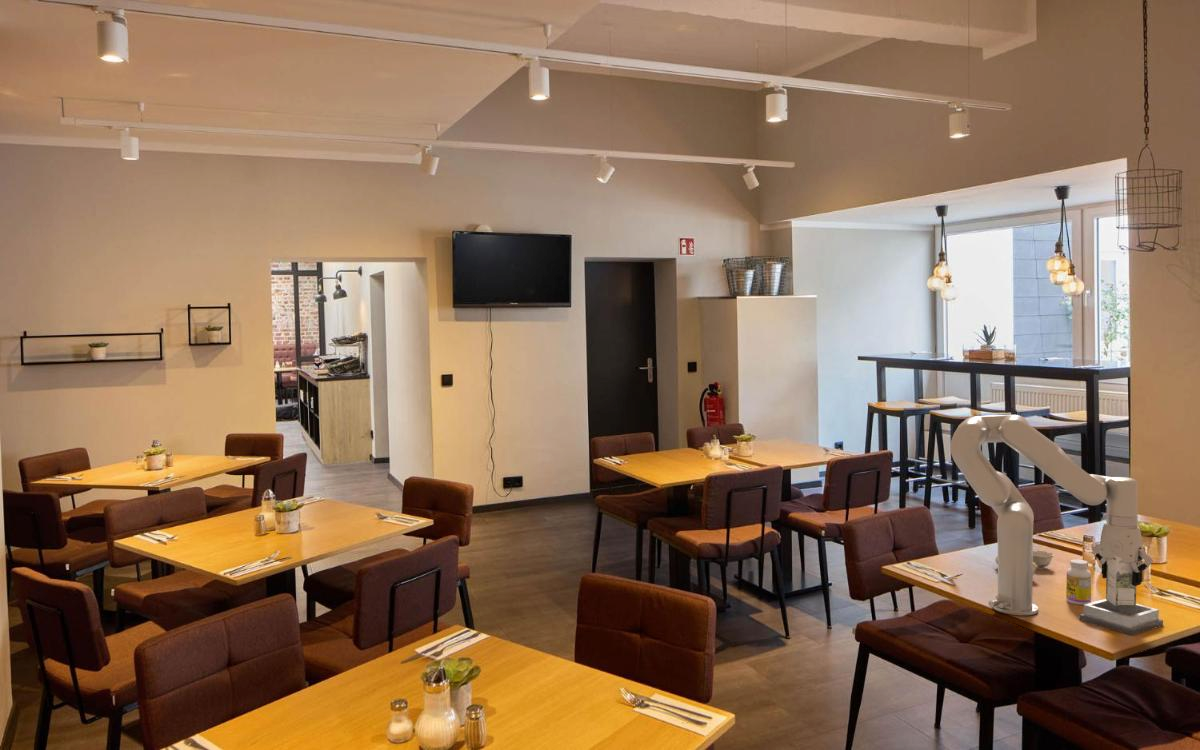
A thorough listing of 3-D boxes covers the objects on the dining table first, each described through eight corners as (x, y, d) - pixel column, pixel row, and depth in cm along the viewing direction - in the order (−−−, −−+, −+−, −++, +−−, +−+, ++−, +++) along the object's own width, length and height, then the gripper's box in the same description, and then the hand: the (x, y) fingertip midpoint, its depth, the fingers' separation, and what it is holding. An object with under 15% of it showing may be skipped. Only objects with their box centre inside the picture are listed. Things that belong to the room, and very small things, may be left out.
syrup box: (1126, 600, 248) (1126, 550, 247) (1136, 606, 242) (1137, 556, 241) (1105, 599, 249) (1106, 550, 248) (1115, 606, 243) (1116, 556, 242)
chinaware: (1036, 590, 281) (1043, 541, 279) (983, 577, 291) (989, 529, 289) (1054, 570, 303) (1060, 525, 301) (1004, 558, 313) (1009, 514, 311)
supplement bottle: (1062, 598, 267) (1062, 558, 267) (1084, 598, 267) (1084, 558, 266) (1072, 605, 261) (1073, 564, 260) (1095, 605, 260) (1095, 564, 260)
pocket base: (1132, 635, 236) (1132, 619, 235) (1079, 619, 249) (1079, 604, 248) (1162, 625, 243) (1163, 609, 242) (1110, 610, 256) (1110, 595, 256)
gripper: (1084, 516, 250) (1083, 576, 251) (1146, 528, 235) (1145, 591, 236) (1099, 513, 253) (1099, 571, 254) (1161, 525, 238) (1160, 586, 239)
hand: (1121, 580), depth 245 cm, fingers closed on syrup box, 7 cm apart
